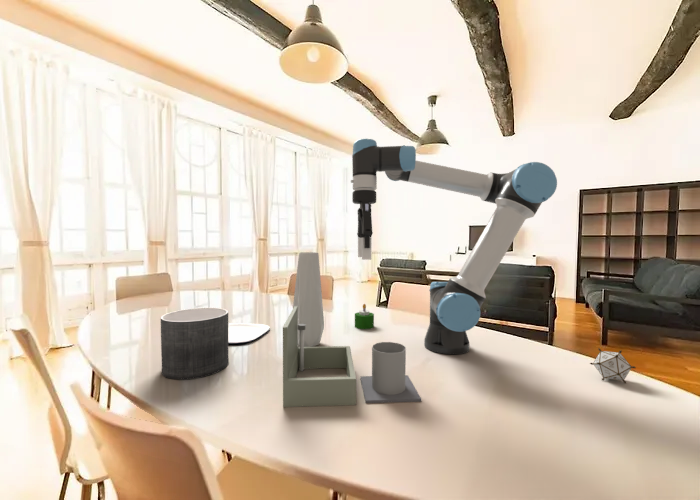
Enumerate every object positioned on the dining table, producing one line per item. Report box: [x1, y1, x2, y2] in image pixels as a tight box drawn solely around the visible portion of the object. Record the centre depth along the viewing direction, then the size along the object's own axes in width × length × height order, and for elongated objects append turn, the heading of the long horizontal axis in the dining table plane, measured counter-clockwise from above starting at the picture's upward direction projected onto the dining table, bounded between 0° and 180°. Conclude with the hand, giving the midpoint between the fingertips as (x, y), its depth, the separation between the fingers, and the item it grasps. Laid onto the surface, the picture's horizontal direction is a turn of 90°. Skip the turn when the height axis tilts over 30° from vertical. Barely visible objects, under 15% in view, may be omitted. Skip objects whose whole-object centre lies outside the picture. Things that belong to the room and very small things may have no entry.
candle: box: [354, 303, 375, 330], centre depth 138 cm, size 8×8×10 cm
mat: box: [359, 374, 422, 404], centre depth 80 cm, size 13×13×1 cm
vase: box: [292, 251, 325, 347], centre depth 114 cm, size 12×12×33 cm
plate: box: [228, 322, 271, 345], centre depth 126 cm, size 25×25×2 cm
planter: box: [160, 307, 230, 380], centre depth 94 cm, size 18×18×16 cm
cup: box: [371, 341, 407, 395], centre depth 80 cm, size 8×8×10 cm
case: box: [282, 306, 357, 408], centre depth 83 cm, size 16×22×18 cm
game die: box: [589, 347, 636, 384], centre depth 86 cm, size 9×8×10 cm
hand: (364, 258), depth 101 cm, fingers open, 13 cm apart
